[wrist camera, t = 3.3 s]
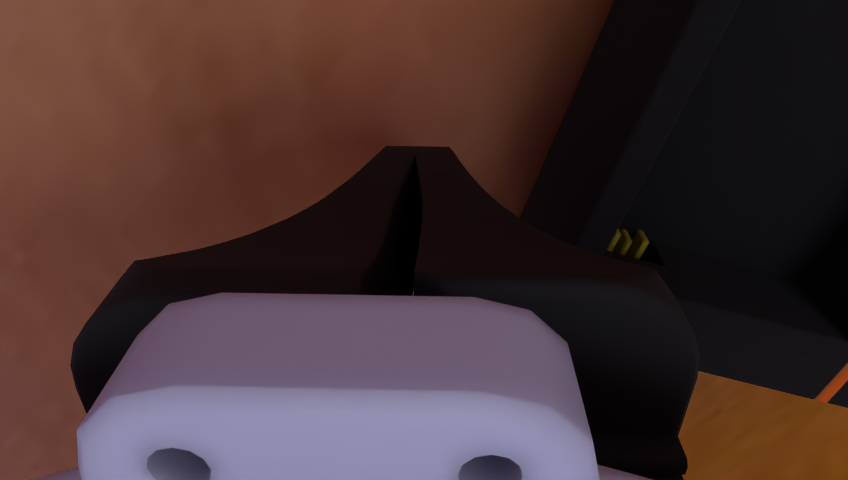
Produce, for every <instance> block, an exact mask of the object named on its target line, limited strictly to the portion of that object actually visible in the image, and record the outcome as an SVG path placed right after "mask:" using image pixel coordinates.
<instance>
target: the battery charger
mask: <svg viewBox="0 0 848 480" xmlns="http://www.w3.org/2000/svg"><path fill="white" fill-rule="evenodd" d="M520 219H522V220H523V221H525V222H526V223H528V224H530V225H532V226H533V227H535V228H537V229H539V230H541V231H543V232H545V233H547V234H549V235H551V236H553V237H555V238H557V239H559V240H561V241H564V242H566V243H568V244H571V245H573V246H576V247H579V248H581V249H584V250H587V251H590V252H593V253H596V254H599V255H602V256H605V257H608V258H613V259H617V260H621V261H625V262H629V263H633V264H637V265H641V266H645V267H649V268H654V269H656V270H657V272H658V273H659V275H660V276H661V278H662V279H663V281H664V282H665V283H666V285H667V286H668V288H669V289H670V291H671V292H672V294H673V295H674V297H675V299H676V300H677V302H678V304H679V305H680V307H681V309H682V311H683V312H684V314H685V316H686V318H687V320H688V322H689V324H690V326H691V328H692V330H693V332H694V333H695V337H696V341H697V345H698V350H699V354H700V360H699V367H698V371H701V372H705V373H709V374H713V375H718V376H722V377H726V378H730V379H734V380H738V381H742V382H746V383H750V384H754V385H758V386H762V387H766V388H770V389H774V390H778V391H782V392H786V393H790V394H794V395H798V396H802V397H806V398H810V399H815V400H817V401H819V402H823V403H827V402H828V403H830V404H835V405H839V406H843V407H847V408H848V0H615V2H614V4H613V6H612V8H611V11H610V13H609V15H608V18H607V20H606V22H605V25H604V27H603V29H602V31H601V34H600V36H599V38H598V41H597V43H596V45H595V47H594V50H593V52H592V54H591V57H590V59H589V61H588V64H587V66H586V68H585V70H584V73H583V75H582V77H581V80H580V82H579V84H578V87H577V89H576V91H575V93H574V96H573V98H572V100H571V103H570V105H569V107H568V109H567V112H566V114H565V116H564V119H563V121H562V123H561V126H560V128H559V130H558V132H557V135H556V137H555V139H554V142H553V144H552V146H551V149H550V151H549V153H548V155H547V158H546V160H545V162H544V165H543V167H542V169H541V171H540V174H539V176H538V178H537V181H536V183H535V185H534V188H533V190H532V192H531V194H530V197H529V199H528V201H527V204H526V206H525V208H524V210H523V213H522V215H521V217H520Z"/></svg>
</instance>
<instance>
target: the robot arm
mask: <svg viewBox="0 0 848 480" xmlns="http://www.w3.org/2000/svg"><path fill="white" fill-rule="evenodd" d="M413 290H414V296H413ZM699 360H700V354H699V350H698V345H697V341H696V337H695V333H694V332H693V330H692V328H691V326H690V324H689V322H688V320H687V318H686V316H685V314H684V312H683V311H682V309H681V307H680V305H679V304H678V302H677V300H676V299H675V297H674V295H673V294H672V292H671V291H670V289H669V288H668V286H667V285H666V283H665V282H664V281H663V279H662V278H661V276H660V275H659V273H658V272H657V270H656V269H654V268H649V267H645V266H641V265H637V264H633V263H629V262H625V261H621V260H617V259H613V258H608V257H605V256H602V255H599V254H596V253H593V252H590V251H587V250H584V249H581V248H579V247H576V246H573V245H571V244H568V243H566V242H564V241H561V240H559V239H557V238H555V237H553V236H551V235H549V234H547V233H545V232H543V231H541V230H539V229H537V228H535V227H533V226H532V225H530V224H528V223H526V222H525V221H523V220H522V219H520V218H519V217H517V216H516V215H514V214H513V213H511V212H510V211H508V210H507V209H506V208H504V207H503V206H502V205H500V204H499V203H498V202H497V201H496V200H495V199H493V198H492V197H491V196H490V195H489V194H488V193H487V192H486V191H484V190H483V188H482V187H481V186H480V185H479V184H478V183H477V182H476V181H475V180H474V178H473V177H472V176H471V175H470V174H469V173H468V171H467V170H466V169H465V167H464V166H463V165H462V164H461V162H460V161H459V159H458V158H457V156H456V155H455V153H454V152H453V151H452V150H451V149H450V148H449V147H421V146H386V147H385V148H383V149H382V150H381V151H380V152H379V153H378V154H377V155H376V156H375V157H374V158H373V159H372V160H370V161H369V162H368V163H367V164H366V165H365V166H364V167H363V168H362V169H361V170H360V171H358V172H357V173H356V174H355V175H354V176H353V177H352V178H350V179H349V180H348V181H346V182H345V183H344V184H342V185H341V186H340V187H338V188H337V189H336V190H334V191H333V192H332V193H330V194H329V195H328V196H326V197H325V198H323V199H322V200H320V201H319V202H317V203H315V204H314V205H312V206H310V207H308V208H307V209H305V210H303V211H301V212H299V213H297V214H296V215H294V216H292V217H290V218H288V219H285V220H283V221H281V222H278V223H276V224H273V225H271V226H269V227H266V228H264V229H261V230H259V231H257V232H254V233H252V234H249V235H246V236H243V237H240V238H237V239H233V240H230V241H227V242H223V243H220V244H216V245H213V246H209V247H205V248H201V249H197V250H192V251H187V252H182V253H177V254H171V255H166V256H161V257H155V258H150V259H144V260H137V261H134V262H133V263H132V265H131V266H130V267H129V268H128V269H127V271H126V272H125V273H124V274H123V276H122V277H121V278H120V279H119V281H118V282H117V283H116V285H115V286H114V287H113V288H112V290H111V291H110V292H109V294H108V295H107V296H106V298H105V299H104V300H103V302H102V303H101V304H100V306H99V307H98V308H97V309H96V311H95V312H94V313H93V315H92V316H91V317H90V319H89V320H88V321H87V323H86V324H85V326H84V327H83V329H82V330H81V332H80V334H79V335H78V337H77V339H76V340H75V342H74V344H73V351H72V358H71V370H72V374H73V378H74V382H75V386H76V389H77V392H78V394H79V397H80V399H81V401H82V404H83V406H84V408H85V411H86V413H87V415H86V417H85V418H84V420H83V421H82V423H81V424H80V426H79V427H78V429H77V446H78V465H79V468H75V469H71V470H67V471H63V472H59V473H55V474H51V475H47V476H43V477H38V478H34V479H30V480H684V479H683V477H682V474H685V473H686V470H687V467H688V466H687V458H686V455H685V453H684V450H683V448H682V445H681V443H680V441H679V438H678V434H679V431H680V428H681V425H682V422H683V419H684V416H685V413H686V410H687V407H688V404H689V401H690V398H691V395H692V392H693V389H694V386H695V383H696V380H697V374H698V367H699Z"/></svg>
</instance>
